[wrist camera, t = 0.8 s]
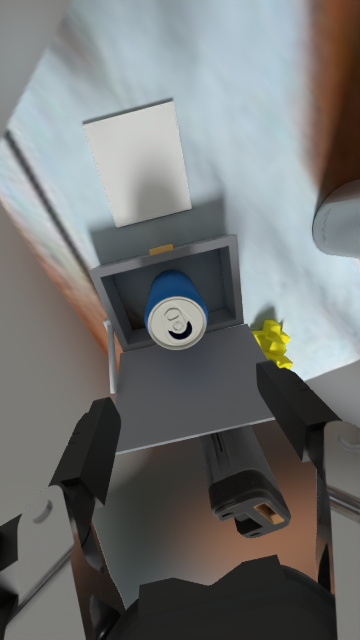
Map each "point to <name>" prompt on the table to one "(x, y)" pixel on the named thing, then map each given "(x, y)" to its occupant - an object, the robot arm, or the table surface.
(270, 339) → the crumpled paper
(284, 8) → the table surface
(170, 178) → the pad
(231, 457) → the electronic device
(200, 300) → the beverage can
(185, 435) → the case
